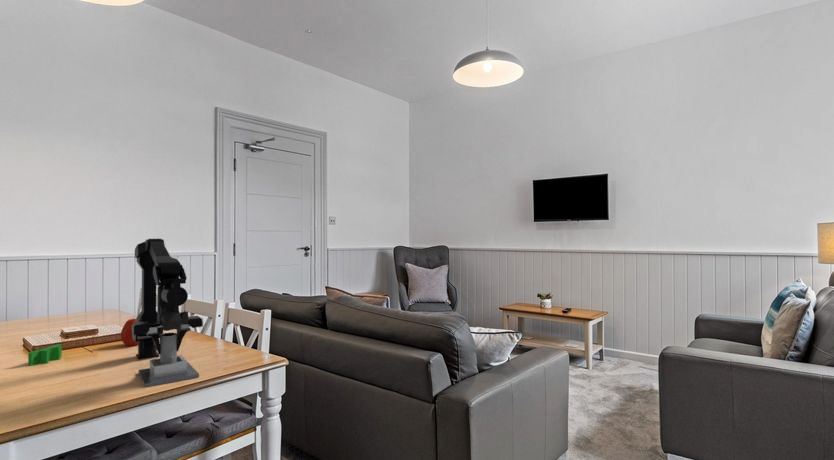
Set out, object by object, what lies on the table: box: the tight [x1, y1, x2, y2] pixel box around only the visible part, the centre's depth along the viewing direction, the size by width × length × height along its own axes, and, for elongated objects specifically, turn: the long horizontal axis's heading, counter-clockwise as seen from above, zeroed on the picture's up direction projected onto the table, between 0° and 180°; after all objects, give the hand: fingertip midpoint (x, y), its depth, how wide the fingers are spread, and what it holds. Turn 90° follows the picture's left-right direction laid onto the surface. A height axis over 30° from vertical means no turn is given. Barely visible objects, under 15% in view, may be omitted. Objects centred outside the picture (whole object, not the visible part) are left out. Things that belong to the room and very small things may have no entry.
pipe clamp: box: [27, 343, 63, 367], centre depth 156 cm, size 11×4×5 cm, turn 173°
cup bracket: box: [138, 354, 200, 388], centre depth 140 cm, size 16×14×4 cm
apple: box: [120, 318, 139, 347], centre depth 177 cm, size 8×8×11 cm
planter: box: [159, 332, 178, 365], centre depth 140 cm, size 4×4×10 cm
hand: (168, 352), depth 140 cm, fingers closed on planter, 4 cm apart
